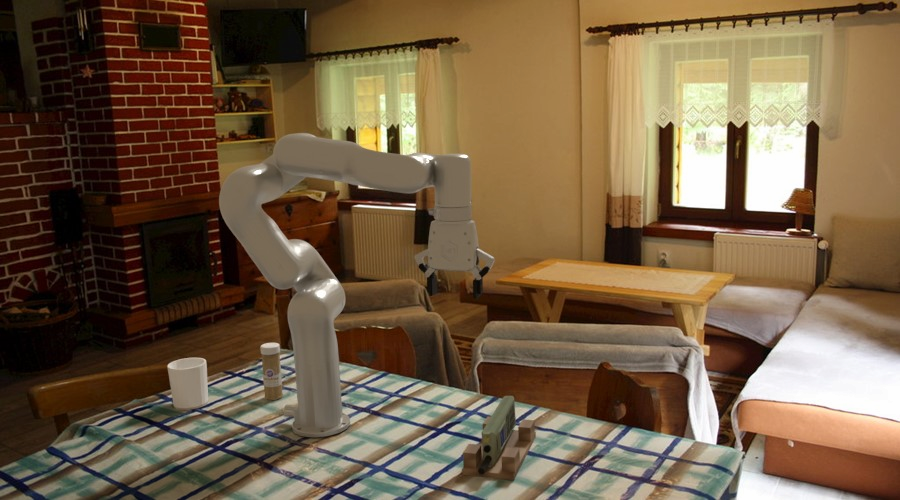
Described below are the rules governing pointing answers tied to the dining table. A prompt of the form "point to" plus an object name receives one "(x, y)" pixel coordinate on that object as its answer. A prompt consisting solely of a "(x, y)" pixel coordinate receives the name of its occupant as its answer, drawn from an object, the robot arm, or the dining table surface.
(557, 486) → the dining table surface
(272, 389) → the sprinkles bottle
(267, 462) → the dining table surface
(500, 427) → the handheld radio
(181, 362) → the mug
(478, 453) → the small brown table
